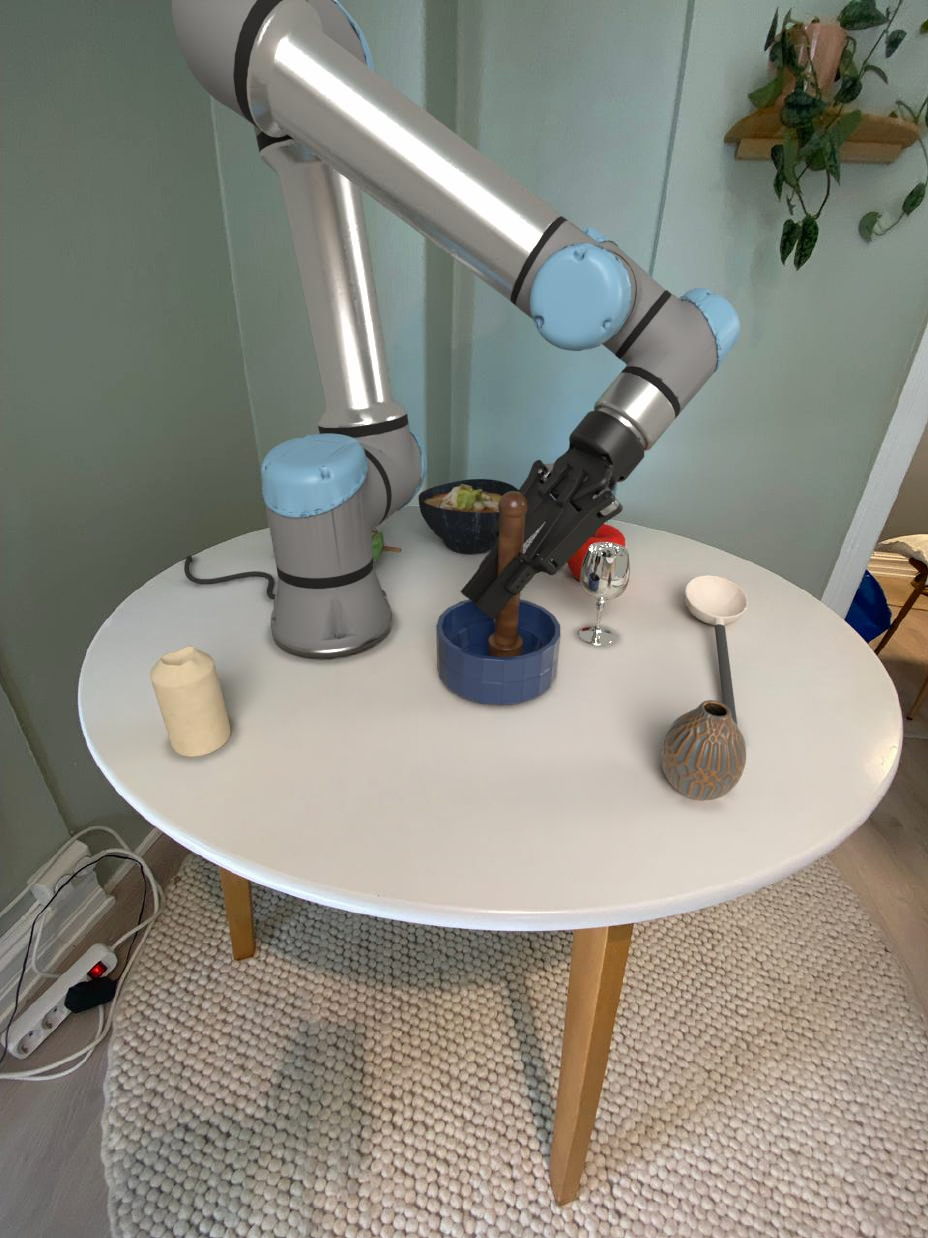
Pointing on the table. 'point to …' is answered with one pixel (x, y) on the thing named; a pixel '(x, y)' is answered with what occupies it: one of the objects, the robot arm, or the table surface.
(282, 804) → the table surface
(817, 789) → the table surface
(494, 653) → the brown wooden post
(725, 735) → the vase
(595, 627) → the wineglass
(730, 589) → the ladle
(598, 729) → the table surface
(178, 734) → the candle
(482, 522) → the bowl
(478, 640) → the blue bowl
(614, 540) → the apple
